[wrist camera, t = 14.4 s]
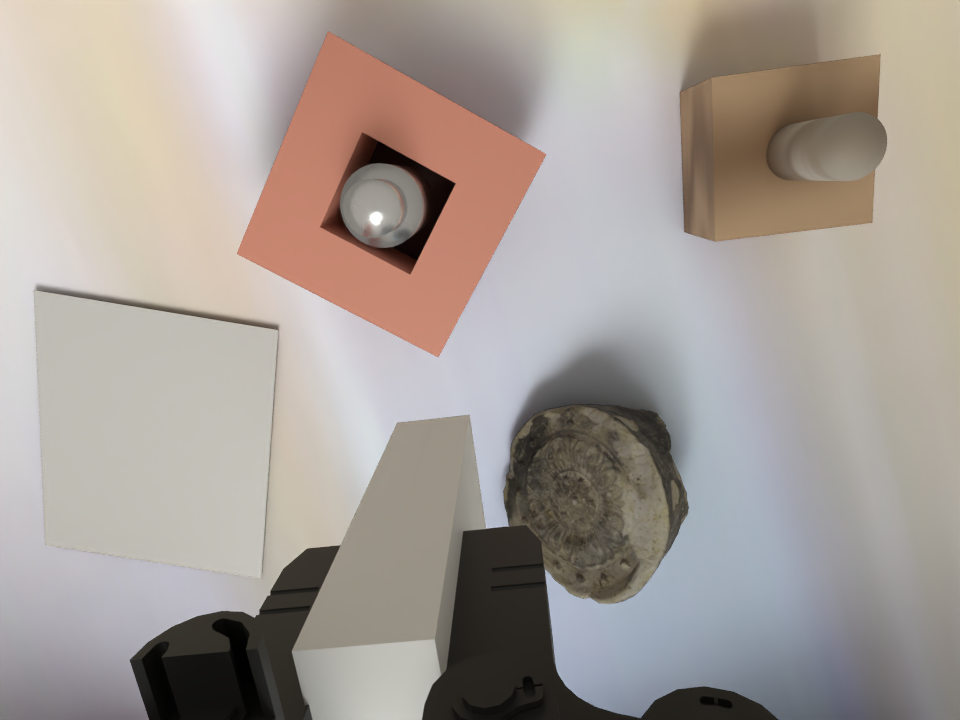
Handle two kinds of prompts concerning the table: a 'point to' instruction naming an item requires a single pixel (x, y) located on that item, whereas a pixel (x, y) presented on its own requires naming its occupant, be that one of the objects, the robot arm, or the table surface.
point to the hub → (394, 201)
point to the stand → (781, 149)
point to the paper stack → (154, 433)
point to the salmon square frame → (348, 147)
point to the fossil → (597, 496)
